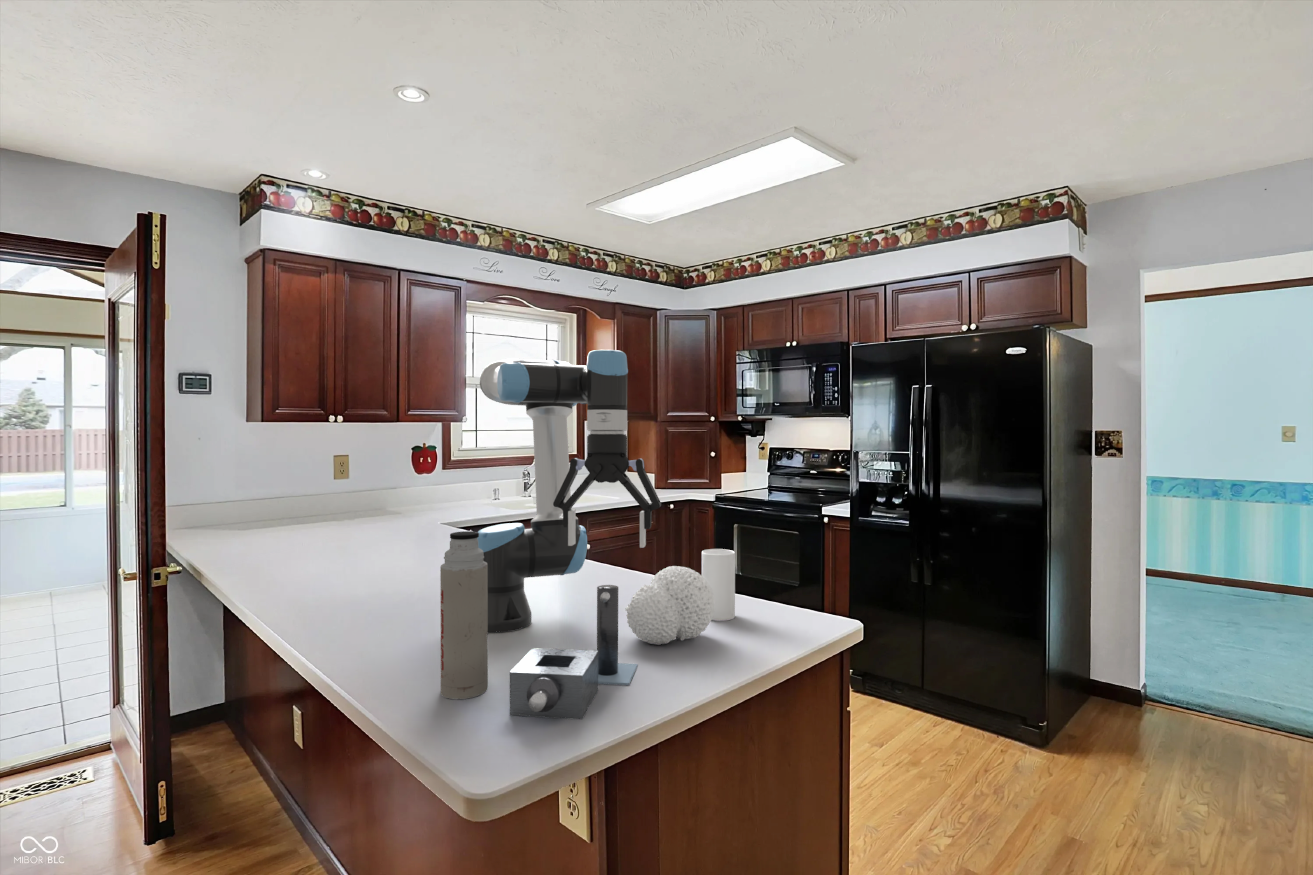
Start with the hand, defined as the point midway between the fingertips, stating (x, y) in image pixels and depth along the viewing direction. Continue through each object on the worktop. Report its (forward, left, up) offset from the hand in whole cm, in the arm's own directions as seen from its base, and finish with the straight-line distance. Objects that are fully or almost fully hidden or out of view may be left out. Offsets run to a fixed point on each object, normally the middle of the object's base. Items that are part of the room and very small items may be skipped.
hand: (607, 545), depth 126 cm
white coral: (+10, +22, -25) cm, 34 cm away
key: (0, 0, -24) cm, 24 cm away
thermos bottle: (-23, -11, -24) cm, 36 cm away
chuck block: (-6, -17, -24) cm, 30 cm away
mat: (0, 0, -24) cm, 24 cm away
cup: (+20, +42, -25) cm, 53 cm away
